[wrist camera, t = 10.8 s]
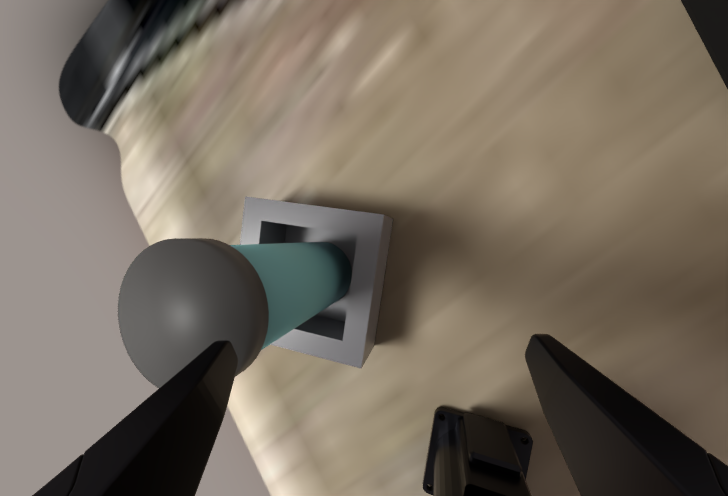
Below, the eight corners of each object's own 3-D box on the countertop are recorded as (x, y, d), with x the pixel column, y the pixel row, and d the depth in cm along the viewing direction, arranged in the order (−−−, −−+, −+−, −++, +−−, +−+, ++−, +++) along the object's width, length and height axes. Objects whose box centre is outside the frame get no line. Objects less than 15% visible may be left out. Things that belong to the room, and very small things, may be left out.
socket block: (374, 345, 22) (361, 368, 18) (262, 318, 25) (229, 333, 21) (393, 218, 22) (383, 214, 18) (276, 203, 24) (245, 196, 20)
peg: (346, 317, 22) (230, 421, 10) (283, 297, 23) (108, 365, 11) (362, 247, 22) (262, 261, 9) (297, 230, 23) (130, 222, 10)
